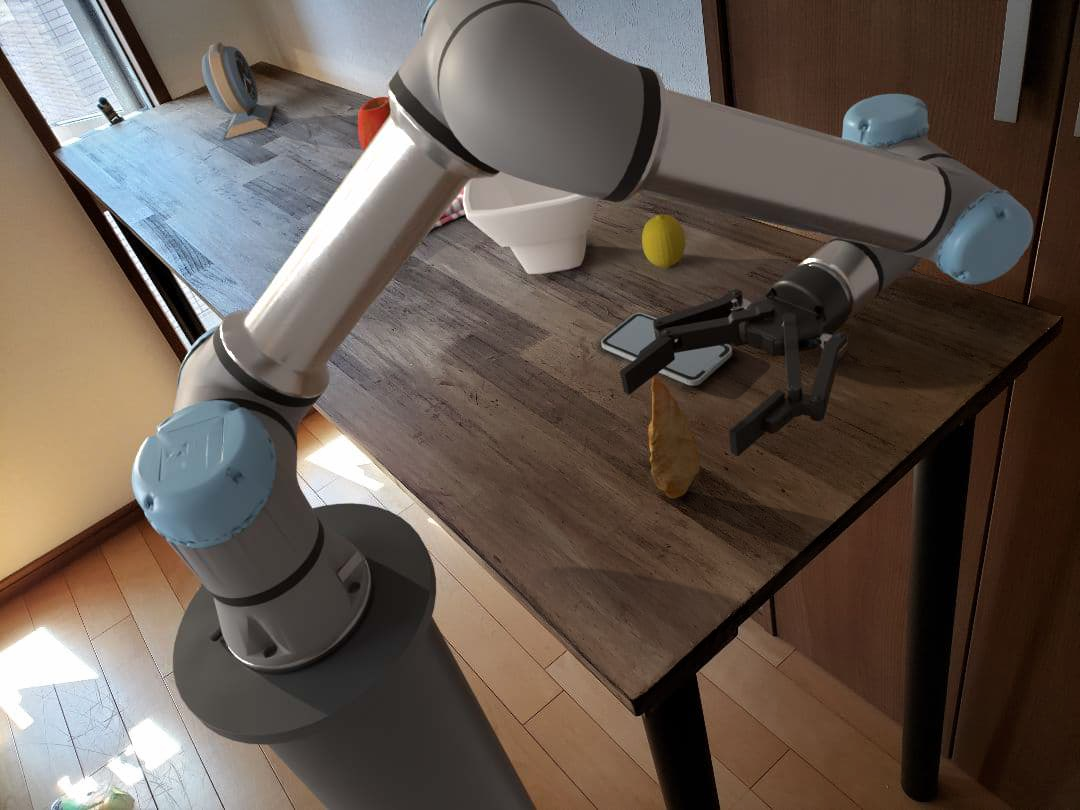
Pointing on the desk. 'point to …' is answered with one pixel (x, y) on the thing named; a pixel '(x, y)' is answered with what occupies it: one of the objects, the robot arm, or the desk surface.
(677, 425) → the stone tool
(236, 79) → the alarm clock
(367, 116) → the apple
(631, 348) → the smartphone
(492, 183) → the bowl
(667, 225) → the lemon
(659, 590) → the desk surface
